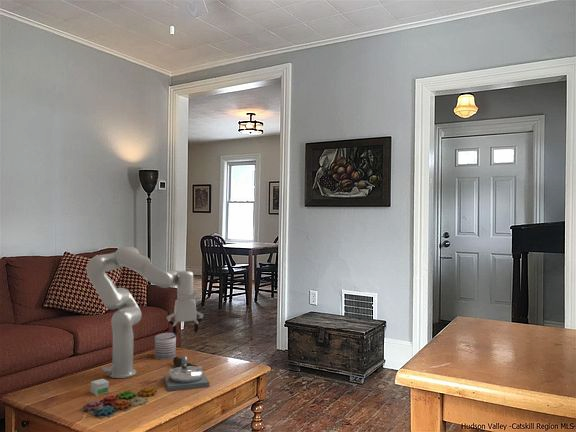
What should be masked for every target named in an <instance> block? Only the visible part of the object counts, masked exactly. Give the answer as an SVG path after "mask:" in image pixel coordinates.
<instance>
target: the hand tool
mask: <svg viewBox="0 0 576 432" xmlns="http://www.w3.org/2000/svg"><path fill="white" fill-rule="evenodd" d="M172 361H173V362H172V363H173V365H174V366H175V368H177V367H182V357H179V356H175V357H174V358H173V360H172ZM187 366H195V367H198V365H197V364H192V363H191V362H187Z"/></svg>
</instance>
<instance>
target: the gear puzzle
mask: <svg viewBox="0 0 576 432" xmlns="http://www.w3.org/2000/svg"><path fill="white" fill-rule="evenodd" d="M156 393H158V390H157V389H156V388H153V387H152V386H146V387H143V388H142V389H140V390H139V391H137V394H136V392H132V391H131V390H125V391H123V392H119V393H117V394H116V395H107V396H106V397H103V398H102V399H100V400H92V401H89V402H88V403H86V404H83V406H82V407H81V408H80V411H82V412H85V411H86V413H87V414H89V415H92V416H97V418H98V419H101V418H102V419H105V417H106V418H112V417H115V415H116V414H118V412H119V413H122V412H129V411H131V410H132V409H133V408H135V407H138V406H141V407H142V406H146V404H147V403H149V399H148V398H147V397H151V396H152V395H153V396H154V395H156ZM140 396H142V397H140Z"/></svg>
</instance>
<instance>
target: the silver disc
mask: <svg viewBox="0 0 576 432" xmlns="http://www.w3.org/2000/svg"><path fill="white" fill-rule="evenodd" d="M181 359H182V367H175V368H170V369H169V372H168V373H169V379H170V380H171V381H173V382H176V383H190V382H195V381H198V380H200V379H202V375H203V373H204V372H203V366H202V365H201V366H200V365H199V366H197V367H195V366H187V363H188V356H187V355H185V356H181Z"/></svg>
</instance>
